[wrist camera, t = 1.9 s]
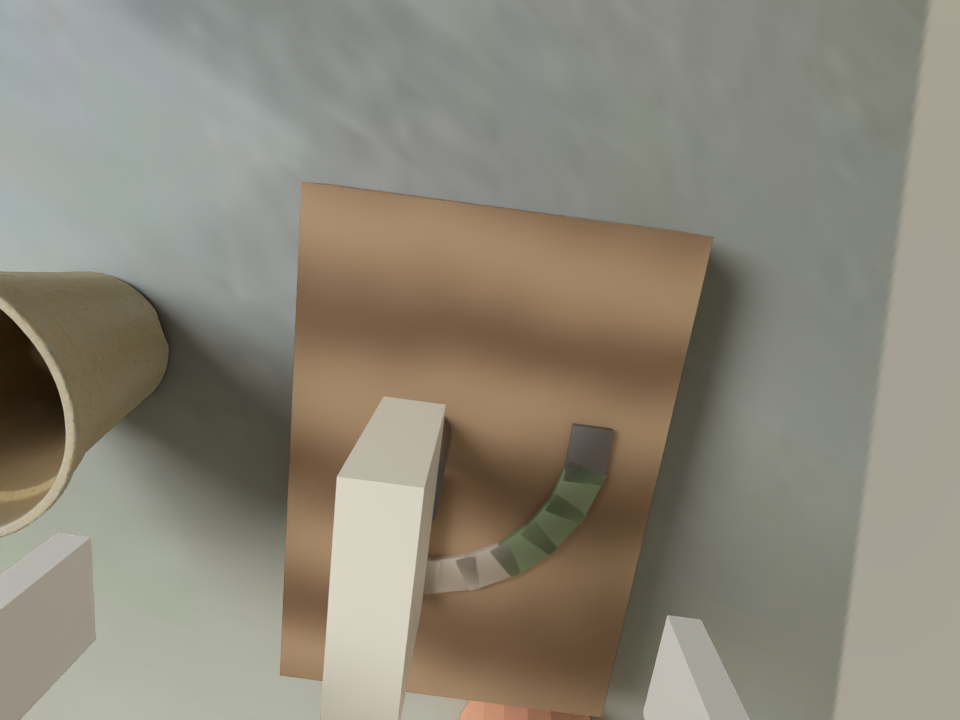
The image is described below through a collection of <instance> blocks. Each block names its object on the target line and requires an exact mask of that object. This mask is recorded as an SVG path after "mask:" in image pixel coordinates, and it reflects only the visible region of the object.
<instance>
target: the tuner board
mask: <svg viewBox="0 0 960 720" xmlns="http://www.w3.org/2000/svg"><path fill="white" fill-rule="evenodd" d="M713 238H714V237H710V236H704V235H699V234H693V233H687V232H680V231H673V230H665V229H658V228H650V227H643V226H635V225H628V224H621V223H613V222H606V221H598V220H591V219H583V218H576V217H569V216H561V215H554V214H546V213H539V212H531V211H524V210H517V209H509V208H502V207H494V206H487V205H479V204H472V203H465V202H457V201H450V200H442V199H435V198H427V197H420V196H413V195H405V194H398V193H390V192H383V191H376V190H368V189H361V188H353V187H346V186H338V185H331V184H322V183H310V182H302V189H301V211H300V234H299V256H298V279H297V301H296V324H295V346H294V369H293V391H292V414H291V436H290V459H289V481H288V504H287V526H286V549H285V571H284V594H283V616H282V639H281V661H280V675H281V676H289V677H296V678H304V679H311V680H319V681H323V670H324V655H325V641H326V626H327V612H328V597H329V583H330V569H331V554H332V540H333V525H334V511H335V496H336V482H337V475H338V474H339V472H340V470H341V469H342V467H343V465H344V463H345V462H346V460H347V458H348V457H349V455H350V453H351V451H352V450H353V448H354V446H355V445H356V443H357V441H358V439H359V438H360V436H361V434H362V433H363V431H364V429H365V428H366V426H367V424H368V422H369V421H370V419H371V417H372V416H373V414H374V412H375V410H376V409H377V407H378V405H379V404H380V402H381V400H382V398H383V397H384V396H385V397H393V398H400V399H408V400H415V401H423V402H430V403H438V404H445V405H446V408H445V417H444V418H445V419H446V420H447V422H448V423H449V425H450V428H451V434H452V435H451V442H450V447H449V452H448V457H447V462H446V467H445V472H444V477H443V482H442V487H441V491H440V496H439V501H438V506H437V511H436V516H435V519H434V521H433V523H432V525H431V533H430V541H429V549H428V557H427V566H426V574H425V582H424V591H423V599H422V607H421V613H420V618H419V624H418V629H417V634H416V639H415V645H414V650H413V655H412V660H411V666H410V671H409V676H408V682H407V687H406V692H410V693H418V694H426V695H433V696H441V697H449V698H456V699H464V700H471V701H479V702H487V703H494V704H502V705H510V706H517V707H525V708H532V709H540V710H548V711H555V712H563V713H570V714H578V715H586V716H593V717H602V712H603V708H604V704H605V700H606V695H607V691H608V687H609V682H610V678H611V674H612V670H613V665H614V661H615V657H616V653H617V648H618V644H619V640H620V635H621V631H622V627H623V623H624V618H625V614H626V610H627V606H628V601H629V597H630V593H631V588H632V584H633V580H634V576H635V571H636V567H637V563H638V559H639V554H640V550H641V546H642V542H643V537H644V533H645V529H646V524H647V520H648V516H649V512H650V507H651V503H652V499H653V495H654V490H655V486H656V482H657V477H658V473H659V469H660V465H661V460H662V456H663V452H664V448H665V443H666V439H667V435H668V430H669V426H670V422H671V418H672V413H673V409H674V405H675V401H676V396H677V392H678V388H679V383H680V379H681V375H682V371H683V366H684V362H685V358H686V354H687V349H688V345H689V341H690V336H691V332H692V328H693V324H694V319H695V315H696V311H697V307H698V302H699V298H700V294H701V290H702V285H703V281H704V277H705V272H706V268H707V264H708V260H709V255H710V251H711V247H712V243H713Z"/></svg>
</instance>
